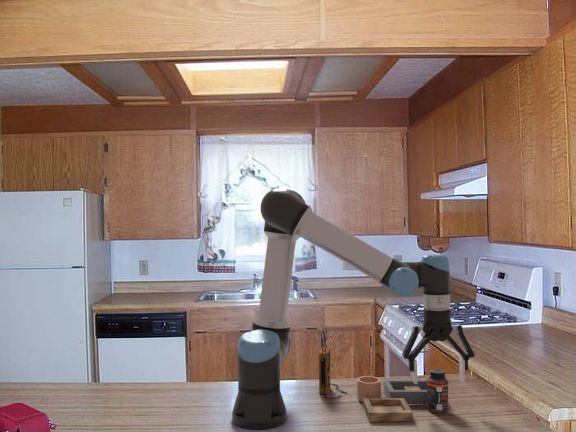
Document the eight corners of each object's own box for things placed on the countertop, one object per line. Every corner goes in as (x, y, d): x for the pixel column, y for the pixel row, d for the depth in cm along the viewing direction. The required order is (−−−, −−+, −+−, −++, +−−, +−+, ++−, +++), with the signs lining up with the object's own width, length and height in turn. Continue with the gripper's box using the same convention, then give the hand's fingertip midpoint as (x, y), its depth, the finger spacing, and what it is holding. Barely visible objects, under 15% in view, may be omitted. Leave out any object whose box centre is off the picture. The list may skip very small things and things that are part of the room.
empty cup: (358, 403, 153) (358, 383, 153) (356, 395, 160) (355, 376, 160) (382, 403, 153) (382, 383, 153) (378, 395, 160) (378, 376, 160)
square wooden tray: (368, 421, 139) (368, 412, 139) (363, 406, 150) (363, 397, 150) (412, 421, 139) (412, 412, 139) (404, 406, 150) (403, 397, 150)
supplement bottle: (445, 415, 143) (445, 375, 143) (424, 411, 146) (423, 372, 146) (450, 408, 148) (450, 369, 148) (430, 405, 151) (430, 366, 151)
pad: (406, 394, 154) (406, 391, 154) (403, 389, 159) (403, 386, 159) (421, 394, 154) (421, 391, 154) (418, 389, 159) (418, 386, 159)
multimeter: (349, 400, 155) (349, 335, 155) (317, 398, 157) (316, 333, 157) (353, 385, 170) (352, 325, 170) (323, 383, 172) (323, 324, 172)
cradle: (389, 405, 151) (389, 391, 151) (383, 392, 162) (383, 379, 162) (444, 405, 151) (443, 391, 151) (434, 392, 162) (433, 379, 162)
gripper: (395, 311, 143) (397, 387, 143) (485, 309, 143) (487, 385, 143) (391, 307, 151) (392, 378, 151) (475, 305, 151) (477, 377, 150)
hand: (438, 382), depth 147 cm, fingers open, 13 cm apart
